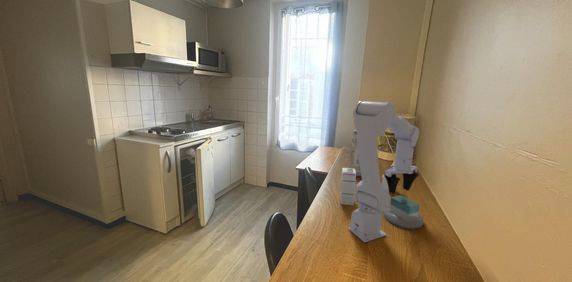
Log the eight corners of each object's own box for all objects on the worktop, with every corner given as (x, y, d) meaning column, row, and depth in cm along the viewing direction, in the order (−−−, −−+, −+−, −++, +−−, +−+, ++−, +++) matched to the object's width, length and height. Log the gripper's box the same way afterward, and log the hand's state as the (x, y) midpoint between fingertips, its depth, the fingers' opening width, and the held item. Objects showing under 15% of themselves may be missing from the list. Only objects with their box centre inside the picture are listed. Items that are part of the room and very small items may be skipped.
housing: (389, 211, 87) (391, 197, 86) (398, 208, 89) (400, 195, 88) (407, 222, 80) (410, 207, 79) (417, 219, 82) (419, 204, 81)
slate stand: (406, 232, 77) (406, 228, 76) (376, 214, 88) (377, 210, 88) (431, 224, 82) (431, 220, 82) (400, 207, 93) (400, 204, 93)
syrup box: (354, 205, 94) (357, 172, 91) (339, 204, 95) (342, 171, 92) (353, 199, 100) (355, 168, 96) (339, 198, 101) (341, 167, 97)
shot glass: (387, 193, 106) (388, 179, 104) (377, 187, 112) (379, 174, 111) (399, 192, 108) (401, 178, 106) (389, 186, 114) (390, 173, 113)
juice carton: (348, 175, 127) (352, 128, 121) (349, 169, 137) (353, 125, 131) (365, 177, 125) (370, 129, 119) (364, 171, 135) (369, 126, 129)
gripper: (398, 162, 77) (393, 199, 80) (427, 158, 83) (421, 192, 86) (382, 156, 83) (378, 190, 86) (410, 153, 89) (405, 185, 92)
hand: (399, 191), depth 87 cm, fingers open, 7 cm apart
